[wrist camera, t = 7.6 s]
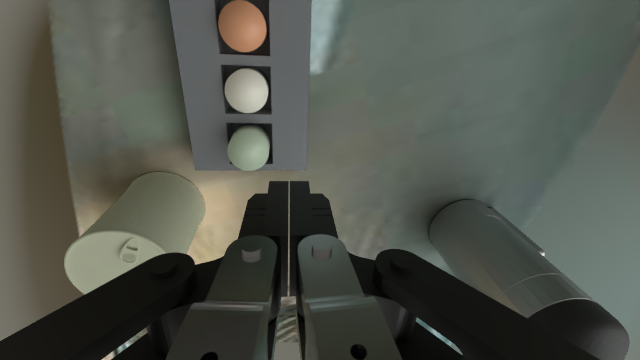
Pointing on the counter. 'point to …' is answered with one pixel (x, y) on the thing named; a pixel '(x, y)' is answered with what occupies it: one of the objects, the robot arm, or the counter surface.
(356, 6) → the counter surface
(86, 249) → the can
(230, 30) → the terracotta button
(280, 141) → the button panel
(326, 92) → the counter surface
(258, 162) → the sage button
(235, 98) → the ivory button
